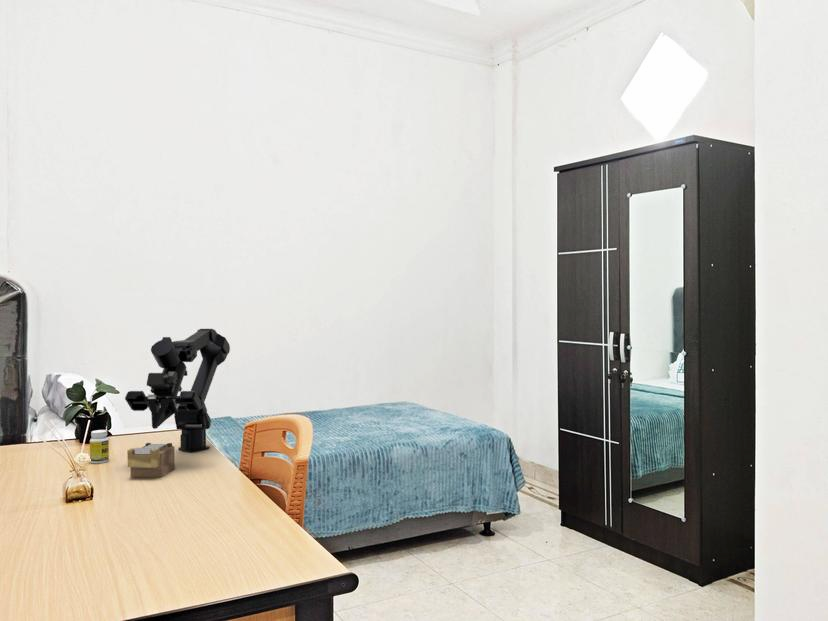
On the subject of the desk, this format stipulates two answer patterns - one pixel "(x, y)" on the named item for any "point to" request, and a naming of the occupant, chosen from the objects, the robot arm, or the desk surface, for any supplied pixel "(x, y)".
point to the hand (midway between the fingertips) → (154, 427)
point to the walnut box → (151, 462)
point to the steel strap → (149, 448)
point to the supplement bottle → (99, 446)
